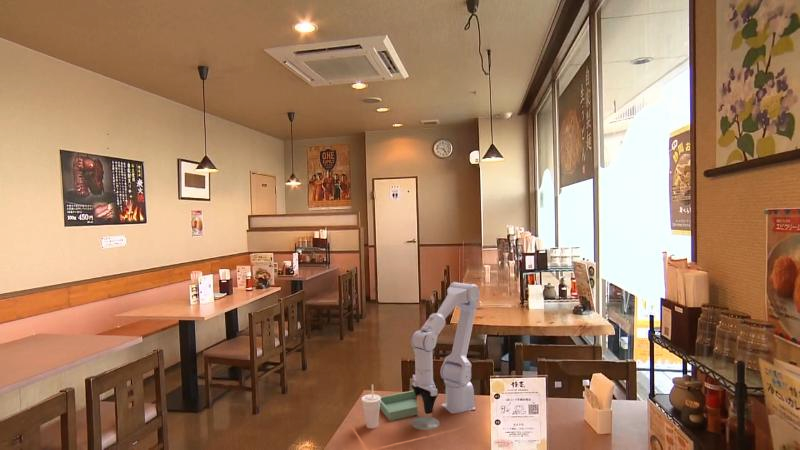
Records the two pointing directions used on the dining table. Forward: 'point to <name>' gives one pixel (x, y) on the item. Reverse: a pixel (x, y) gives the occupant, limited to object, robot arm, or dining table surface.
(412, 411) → the pale green open box
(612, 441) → the dining table surface
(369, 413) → the smoothie
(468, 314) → the robot arm
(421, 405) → the salmon pink cylinder
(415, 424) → the saucer
